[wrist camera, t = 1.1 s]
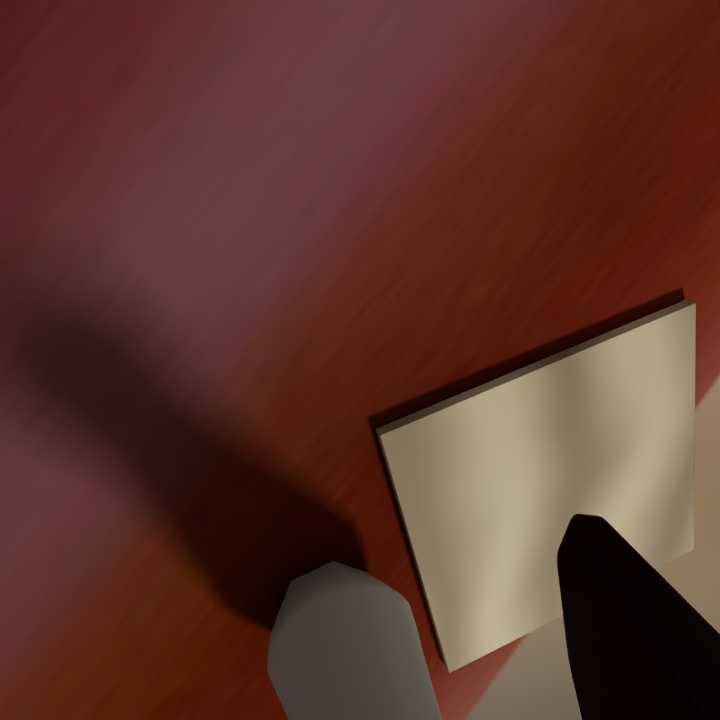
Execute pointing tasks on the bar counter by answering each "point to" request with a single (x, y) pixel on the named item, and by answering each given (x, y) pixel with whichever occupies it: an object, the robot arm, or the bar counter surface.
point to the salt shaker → (348, 650)
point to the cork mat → (546, 476)
